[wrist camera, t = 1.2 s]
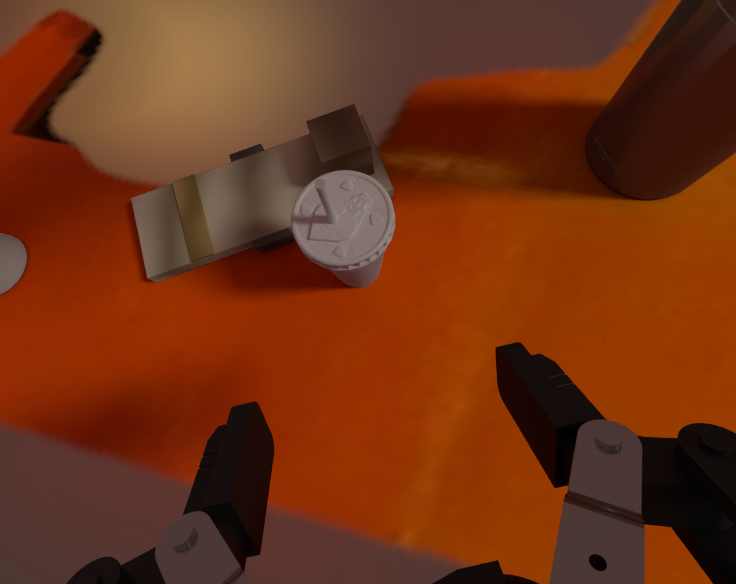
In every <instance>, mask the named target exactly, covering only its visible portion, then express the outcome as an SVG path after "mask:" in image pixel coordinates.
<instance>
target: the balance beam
mask: <svg viewBox="0 0 736 584" xmlns="http://www.w3.org/2000/svg"><path fill="white" fill-rule="evenodd" d="M307 125H308V128H309V131H310V134H309V135H306V136H303V137H300V138H298V139H295V140H292V141H289V142H286V143H284V144H281V145H278V146H275V147H273V148H270V149H267V150H264V149H263V147H262V145H261V144H259V145H256V146H253V147H250V148H247V149H245V150H242V151H239V152H236V153H234V154H231V155H229V156H230V159H231V163H228V164H225V165H223V166H220V167H217V168H214V169H211V170H209V171H206V172H203V173H200V174H198V175H194V174H193V175H190V176H187V177H184V178H182V179H179V180H176V181H174V182H172V184H170V185H167V186H164V187H161V188H158V189H156V190H153V191H150V192H147V193H145V194H142V195H139V196H136V197H133V198H131V200H132V205H133V210H134V215H135V220H136V224H137V229H138V234H139V239H140V244H141V249H142V254H143V259H144V264H145V269H146V274H147V278H148V279H150V280H152V281H154V282H159V281H161V280H164V279H167V278H170V277H172V276H175V275H178V274H181V273H183V272H186V271H189V270H192V269H194V268H197V267H200V266H203V265H206V264H208V263H211V262H214V261H217V260H219V259H222V258H225V257H228V256H230V255H233V254H236V253H239V252H241V251H244V250H247V249H250V248H252V247H255V246H256V248H257V249H258V250H259V251H260V252H261V253H263V252H266V251H269V250H272V249H274V248H277V247H280V246H283V245H285V244H288V243H291V242H294V239H293V236H292V233H293V232H292V227H291V214H292V209H293V206H294V203H295V201H296V199H297V197H298V195H299V194H300V193H301V191H302V190H303V189H304V188H305V187H306V186H307V185H308V184H309V183H310V182H312V181H313V180H314V179H316V178H318V177H320V176H322V175H324V174H327V173H330V172H334V171H340V170H350V171H357V172H361V173H364V174H366V175H368V176H370V177H372V178H374V179H375V180H377V181H378V182H379V183H380V184H381V185H382V186H383V187H384V188H385V190H386V191H387V193H388V194H389V196H390V197H393V196H394V189H393V187H392V184H391V182H390V179H389V177H388V175H387V172H386V170H385V168H384V165H383V163H382V160H381V158H380V156H379V153H378V151H377V149H376V146H375V144H374V141H373V139H372V137H371V134H370V132H369V129H368V127H367V125H366V123H365V120H364V118H363V116H362V115H361V116H359V115H358V113H357V110H356V108H355V105H354V104H353V105H351V106H348V107H345V108H342V109H339V110H337V111H334V112H331V113H329V114H325V115H323V116H320V117H317V118H314V119H312V120H309V121H307Z"/></svg>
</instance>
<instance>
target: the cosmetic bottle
mask: <svg viewBox="0 0 736 584" xmlns="http://www.w3.org/2000/svg"><path fill="white" fill-rule="evenodd" d="M26 263H27V253H26V249H25V247H24V245H23V243H22V242H21V241H20V240H19V239H17V238H16V237H14V236H11V235H7V234H3V233H0V295H1V294H3V293H5V292H6V291H8V290H9V289H11V288H12V287H13V286H14V285H15V284H16V283H17V282H18V281H19V279H20V278H21V276H22V274H23V272H24V270H25V267H26Z"/></svg>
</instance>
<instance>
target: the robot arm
mask: <svg viewBox="0 0 736 584" xmlns="http://www.w3.org/2000/svg"><path fill="white" fill-rule="evenodd" d="M586 151H587V156H588V160H589V162H590V165H591V167H592V169H593V170H594V172H595V173H596V174H597V176H598V177H599V178H600V179H601V180H602V181H603V182H604V183H605V184H607V185H608V186H609V187H611V188H612V189H614V190H616V191H617V192H619V193H622V194H624V195H627V196H630V197H634V198H639V199H661V198H667V197H670V196H673V195H675V194H678V193H680V192H681V191H683V190H684V189H686V188H687V187H689V186H690V185H692V184H693V183H694V182H696V181H697V180H698V179H700V178H701V177H703V176H704V175H705V174H707V173H708V172H709V171H711V170H712V169H714V168H715V167H716V166H718V165H719V164H721V163H722V162H723V161H725V160H726V159H728V158H729V157H730V156H732V155H733V154H734V153H736V0H681V1H680V3H679V4H678V6H677V7H676V8H675V10H674V11H673V13H672V14H671V16H670V17H669V18H668V20H667V21H666V23H665V24H664V25H663V27H662V28H661V30H660V31H659V33H658V34H657V35H656V37H655V38H654V40H653V41H652V42H651V44H650V45H649V47H648V48H647V50H646V51H645V52H644V54H643V55H642V57H641V58H640V59H639V61H638V62H637V64H636V65H635V66H634V68H633V69H632V71H631V72H630V74H629V75H628V76H627V78H626V79H625V81H624V82H623V83H622V85H621V86H620V88H619V89H618V90H617V92H616V93H615V95H614V96H613V97H612V99H611V100H610V102H609V103H608V105H607V106H606V107H605V109H604V110H603V112H602V113H601V114H600V116H599V117H598V119H597V120H596V122H595V123H594V125H593V126H592V128H591V129H590V131H589V134H588V137H587V143H586ZM496 369H497V384H498V389H499V392H500V395H501V398H502V400H503V402H504V404H505V405H506V407H507V409H508V411H509V412H510V414H511V416H512V417H513V419H514V421H515V422H516V424H517V426H518V427H519V429H520V431H521V432H522V434H523V436H524V437H525V439H526V441H527V442H528V444H529V446H530V447H531V449H532V451H533V453H534V454H535V456H536V458H537V459H538V461H539V463H540V464H541V466H542V468H543V469H544V471H545V473H546V474H547V476H548V478H549V479H550V481H551V483H552V484H553V486H554V488H558V487H562V486H567V485H568V492H567V494H565V498H564V503H563V509H562V515H561V520H560V526H559V532H558V537H557V543H556V549H555V554H554V560H553V566H552V571H551V577H550V583H549V584H644V541H645V529H644V524H647V525H656V526H666V527H671V528H672V529H673V530H674V532H675V533H676V534H677V536H678V537H679V538H680V540H681V541H682V542H683V544H684V545H685V546H686V548H687V549H688V550H689V552H690V553H691V554H692V556H693V557H694V559H695V560H696V561H697V563H698V564H699V565H700V567H701V568H702V569H703V571H704V572H705V573H706V575H707V576H708V577H709V579H710V580H711V581H712V583H713V584H736V433H734V432H732V431H730V430H727V429H725V428H723V427H719V426H716V425H712V424H705V423H695V424H689V425H687V426H684V427H683V428H682V429H681V430H680V431H679V434H678V438H656V437H642V436H637V435H635V433H633V432H632V431H631V430H630V429H628V428H627V427H625V426H623V425H621V424H619V423H616V422H613V421H609V420H606V419H605V418H604V417H603V416H602V415H601V413H600V412H599V411H598V410H597V409H596V408H595V407H594V406H593V404H592V403H591V402H590V401H589V400H588V399H587V398H586V396H585V395H584V394H583V393H582V392H581V391H580V390H579V389H578V387H577V386H576V385H574V384H573V382H572V381H571V379H570V378H569V377H568V376H567V375H565V373H564V371H563V370H562V369H561V368H560V367H559V366H558V365H557V364H556V362H554V361H553V360H551V359H549V358H547V357H545V356H544V355H542V354H536V355H532V356H531V354H530V353H529V352H528V351H527V350H526V348H525V347H524V346H523V345H522V344H521V343H520V342H517V343H512V344H508V345H503V346H499V347H496ZM203 456H204V457H202V460H201V463H200V466H199V467H200V469H198V472H197V475H196V478H195V481H194V484H193V487H192V490H191V493H190V495H189V498H188V502H187V505H186V507H185V510H184V513H183V516H181V517H180V518H178V519H177V520H175V521H174V522H173V523H172V524H171V525H170V526H169V527H168V528H167V529H166V530H165V531H164V533H163V534H162V535H161V537H160V539H159V541H158V543H157V546H156V547H155V548H153V549H151V550H150V551H148V552H146V553H144V554H142V555H140V556H138V557H136V558H134V559H133V560H131V561H129V562H127V563H125V564H123V565H121V564H120V563H119V562H118V561H117V560H116V559H115V558H112V557H103V558H99V559H97V560H95V561H93V562H91V563H89V564H87V565H86V566H85V567H83V568H82V569H80V570H79V571H78V572H77V573H76V574H75V575H74V576H73V577H72V578H71V579H70V580H69V581H68V583H67V584H251V583H250V581H249V579H248V578H247V576H246V575H245V573H244V570H245V564H246V558H247V557H251V556H255V555H260V552H261V545H262V538H263V530H264V523H265V516H266V508H267V501H268V494H269V486H270V479H271V472H272V464H273V457H274V442H273V437H272V434H271V432H270V429H269V427H268V425H267V422H266V420H265V418H264V416H263V413H262V411H261V409H260V406H259V404H258V403H257V402H250V403H246V404H242V405H237V406H233V407H232V408H231V411H230V414H229V417H228V421H227V424H226V425H221V426H218V428H217V429H216V430H215V432H214V433H213V434H212V436H211V437H210V438H209V440H208V442H207V445H206V448H205V451H204V454H203ZM433 584H538V583H536V582H534V581H532V580H529V579H526V578H523V577H519V576H514V575H507V574H503V573H502V570H501V567H500V565H499V562H498V560H497V561H493V562H488V563H484V564H480V565H475V566H471V567H467V568H462V569H458V570H456V571H454V572H452V573H450V574H449V575H447V576H445V577H443V578H442V579H440V580H438V581H436V582H435V583H433Z"/></svg>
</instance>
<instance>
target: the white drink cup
mask: <svg viewBox="0 0 736 584" xmlns="http://www.w3.org/2000/svg"><path fill="white" fill-rule="evenodd" d="M291 227H292V232H293V235H294V238H295V240H296V242H297V244H298V246H299V247H300V249H301V251H302V253H303V254H304V255H306V256H307V257H308V258H309V259H310V260H311V261H312V262H314V263H315V264H317V265H319V266H321V267H323V268H327V269H328V270H330V271H331V272H332V273H333V274H334V275H335V276H337V277H338V278H339V279H340V280H341V281H343V282H344V283H345V284H346V285H348V286H351V287H354V288H362V287H366V286H368V285H370V284H372V283H373V282H374V281H375V280H376V279H377V277H378V275H379V273H380V269H381V265H382V260H383V256H384V251H385V249H386V248H387V246H388V244H389V243H390V241H391V239H392V236H393V232H394V229H395V213H394V210H393V205H392V201H391V198H390V196H389V194H388V193H387V191H386V190H385V188H384V187H383V186H382V185H381V184H380V183H379V182H378V181H377V180H375V179H374V178H372V177H370V176H368V175H366V174H364V173H361V172H357V171H350V170H340V171H334V172H330V173H327V174H324V175H322V176H320V177H318V178H316V179H314V180H313V181H312V182H310V183H309V184H308V185H307V186H306V187H305V188H304V189H303V190H302V191H301V193H300V194H299V195H298V197H297V199H296V201H295V203H294V206H293V209H292V214H291Z"/></svg>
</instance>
